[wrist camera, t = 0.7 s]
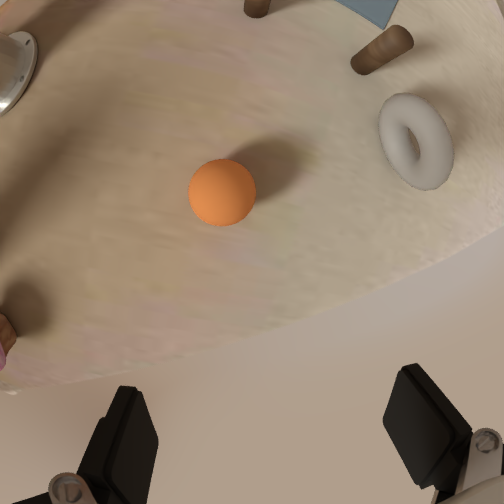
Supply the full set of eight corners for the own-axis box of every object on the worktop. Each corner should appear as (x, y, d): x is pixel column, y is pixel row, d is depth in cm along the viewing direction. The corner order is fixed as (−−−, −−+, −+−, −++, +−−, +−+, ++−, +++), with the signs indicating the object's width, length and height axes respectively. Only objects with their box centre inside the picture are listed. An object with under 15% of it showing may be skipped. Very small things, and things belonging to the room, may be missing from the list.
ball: (183, 204, 29) (171, 212, 23) (209, 150, 27) (204, 145, 22) (236, 230, 30) (238, 244, 24) (263, 177, 29) (272, 178, 23)
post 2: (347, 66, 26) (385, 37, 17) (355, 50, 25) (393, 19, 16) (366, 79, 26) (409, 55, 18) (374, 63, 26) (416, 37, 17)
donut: (413, 181, 30) (471, 189, 20) (391, 190, 30) (447, 202, 20) (385, 99, 27) (438, 80, 17) (361, 106, 27) (411, 85, 17)
